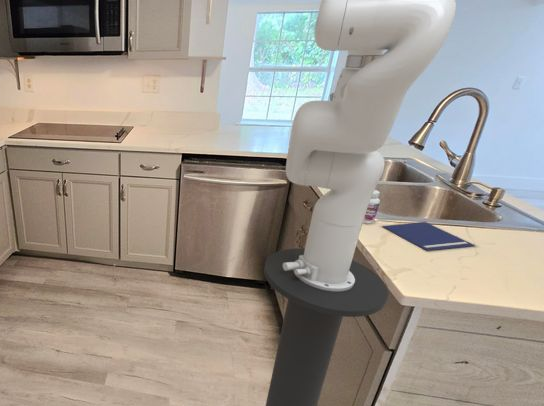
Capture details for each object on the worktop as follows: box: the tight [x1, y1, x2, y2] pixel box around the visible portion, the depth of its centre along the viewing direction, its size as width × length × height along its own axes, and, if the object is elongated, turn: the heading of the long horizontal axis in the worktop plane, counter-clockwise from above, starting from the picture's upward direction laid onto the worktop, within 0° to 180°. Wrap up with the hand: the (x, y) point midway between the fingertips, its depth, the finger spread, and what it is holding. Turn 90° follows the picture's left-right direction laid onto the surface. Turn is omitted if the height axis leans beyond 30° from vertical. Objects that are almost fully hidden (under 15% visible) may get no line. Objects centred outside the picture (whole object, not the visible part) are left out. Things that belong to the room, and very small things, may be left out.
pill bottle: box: [362, 189, 381, 224], centre depth 109 cm, size 5×5×10 cm
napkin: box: [382, 221, 476, 252], centre depth 101 cm, size 14×14×1 cm
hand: (347, 128), depth 101 cm, fingers open, 9 cm apart
